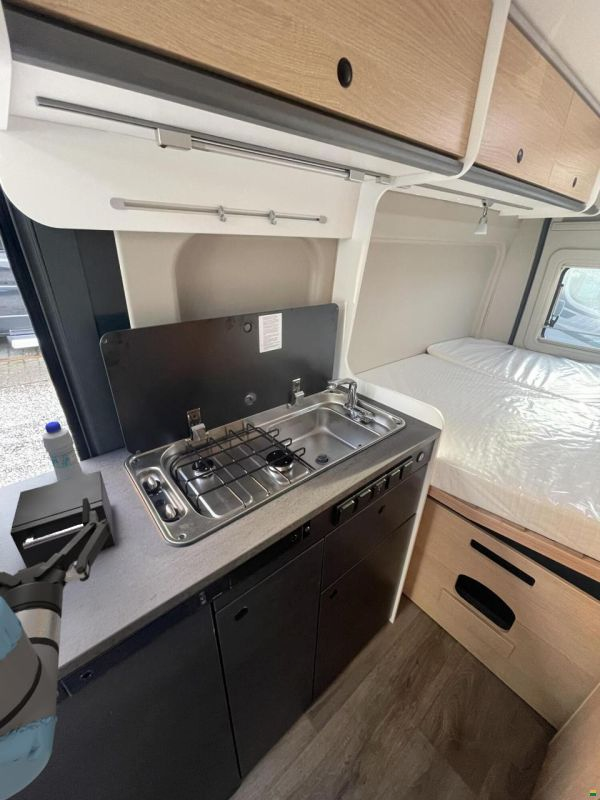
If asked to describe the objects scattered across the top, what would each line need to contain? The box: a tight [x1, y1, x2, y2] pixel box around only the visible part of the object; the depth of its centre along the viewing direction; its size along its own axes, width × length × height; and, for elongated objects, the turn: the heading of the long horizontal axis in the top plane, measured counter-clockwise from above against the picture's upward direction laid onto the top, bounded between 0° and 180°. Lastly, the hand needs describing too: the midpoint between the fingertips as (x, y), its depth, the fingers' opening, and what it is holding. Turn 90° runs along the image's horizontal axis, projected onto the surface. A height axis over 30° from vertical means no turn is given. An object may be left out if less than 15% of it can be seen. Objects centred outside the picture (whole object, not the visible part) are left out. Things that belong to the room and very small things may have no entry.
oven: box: [11, 470, 116, 541], centre depth 77 cm, size 12×16×13 cm
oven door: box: [9, 501, 116, 568], centre depth 70 cm, size 5×16×13 cm, turn 121°
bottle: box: [42, 421, 84, 482], centre depth 94 cm, size 7×7×20 cm
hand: (41, 517), depth 57 cm, fingers open, 13 cm apart
